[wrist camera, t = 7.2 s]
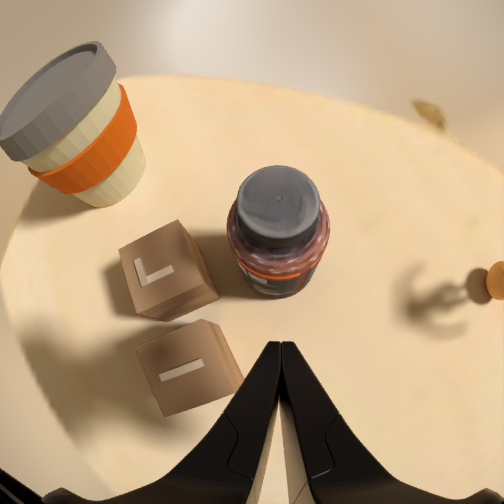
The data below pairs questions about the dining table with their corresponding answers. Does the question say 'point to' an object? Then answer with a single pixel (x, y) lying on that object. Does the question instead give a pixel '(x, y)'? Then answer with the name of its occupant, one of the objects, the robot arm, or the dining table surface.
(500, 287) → the figurine
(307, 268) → the supplement bottle
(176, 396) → the block one
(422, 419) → the dining table surface
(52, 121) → the reusable coffee cup
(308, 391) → the robot arm
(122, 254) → the block seven
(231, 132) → the dining table surface
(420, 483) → the dining table surface
